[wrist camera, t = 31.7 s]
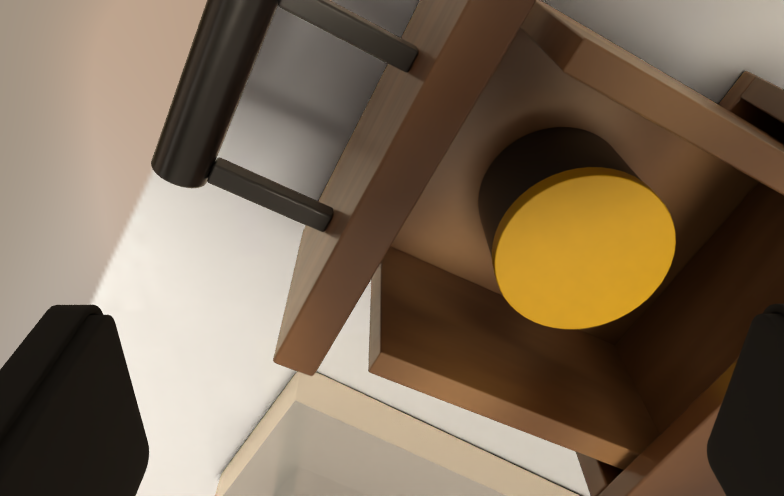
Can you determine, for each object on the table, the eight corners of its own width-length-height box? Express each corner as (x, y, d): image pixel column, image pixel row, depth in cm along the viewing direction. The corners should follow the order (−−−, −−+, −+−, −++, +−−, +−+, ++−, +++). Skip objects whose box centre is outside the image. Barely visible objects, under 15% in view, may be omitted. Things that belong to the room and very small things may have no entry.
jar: (530, 97, 19) (562, 143, 16) (659, 166, 21) (715, 222, 17) (449, 226, 22) (461, 291, 18) (569, 281, 23) (603, 352, 19)
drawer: (171, 175, 22) (84, 294, 15) (300, -174, 17) (250, -211, 10) (599, 360, 26) (667, 510, 20) (802, 127, 21) (981, 229, 15)
